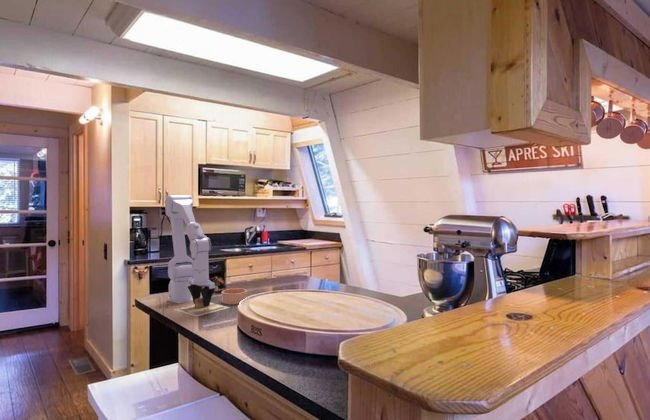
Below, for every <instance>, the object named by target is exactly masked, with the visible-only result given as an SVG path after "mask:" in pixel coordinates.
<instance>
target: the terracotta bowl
mask: <svg viewBox="0 0 650 420" xmlns="http://www.w3.org/2000/svg"><path fill="white" fill-rule="evenodd" d="M246 297H247V298H248V290H247V289H245V288H241V287H240V288H238V287H237V288H227V290H223V289H222V290H221V303H222V304H225V305H239V304H238V303H239V302H240V301H241V300H243V299H245V298H246Z"/></svg>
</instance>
